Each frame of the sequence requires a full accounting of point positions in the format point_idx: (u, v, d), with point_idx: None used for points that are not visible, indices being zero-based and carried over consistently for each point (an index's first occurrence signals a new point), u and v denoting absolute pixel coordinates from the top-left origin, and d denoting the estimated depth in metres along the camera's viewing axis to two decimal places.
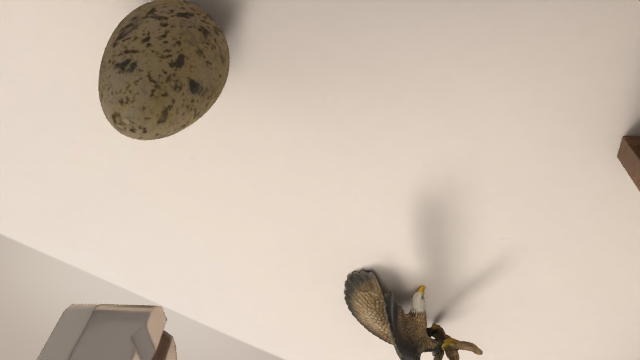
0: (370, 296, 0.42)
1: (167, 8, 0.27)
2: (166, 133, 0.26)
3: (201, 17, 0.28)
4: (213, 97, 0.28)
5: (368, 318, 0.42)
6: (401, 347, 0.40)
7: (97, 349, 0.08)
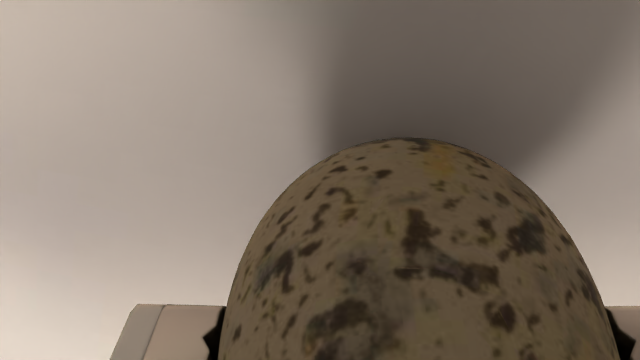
0: None
1: (466, 215, 0.07)
2: None
3: (552, 222, 0.08)
4: None
5: None
6: None
7: (170, 350, 0.08)
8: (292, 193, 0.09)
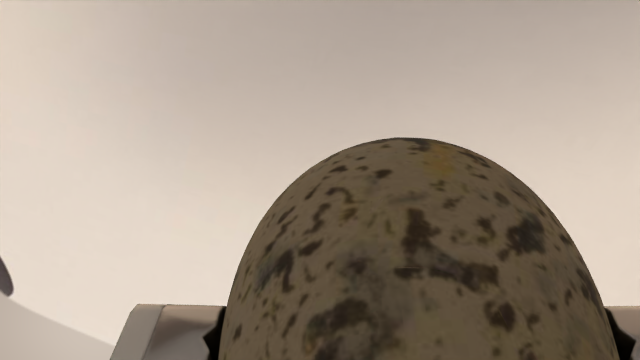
0: None
1: (466, 215, 0.07)
2: None
3: (552, 222, 0.08)
4: None
5: None
6: None
7: (170, 350, 0.08)
8: (292, 193, 0.09)
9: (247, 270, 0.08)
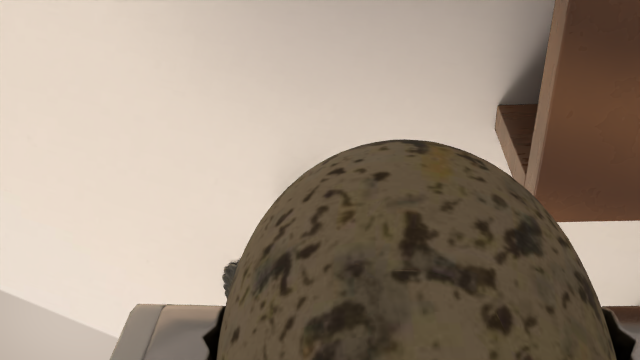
0: None
1: (463, 217, 0.07)
2: None
3: (550, 224, 0.08)
4: None
5: None
6: None
7: (170, 350, 0.08)
8: (290, 195, 0.09)
9: (245, 272, 0.08)
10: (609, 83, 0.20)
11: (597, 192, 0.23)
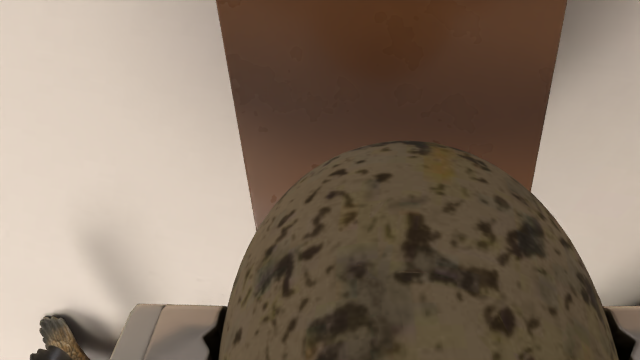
0: (61, 346, 0.35)
1: (466, 219, 0.07)
2: None
3: (552, 226, 0.08)
4: None
5: None
6: None
7: (170, 350, 0.08)
8: (292, 196, 0.09)
9: (247, 273, 0.08)
10: (306, 167, 0.18)
11: None
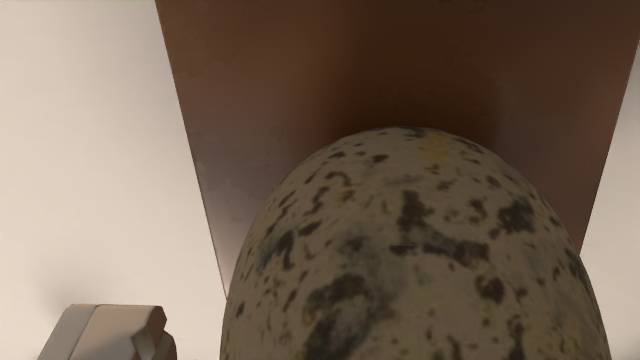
0: None
1: (460, 196, 0.07)
2: None
3: (542, 205, 0.08)
4: None
5: None
6: None
7: (97, 349, 0.08)
8: (293, 178, 0.09)
9: (249, 251, 0.08)
10: None
11: None
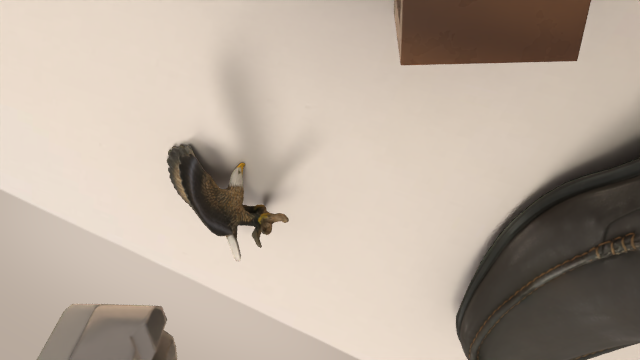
0: None
1: None
2: None
3: None
4: None
5: None
6: (209, 214, 0.41)
7: (97, 349, 0.08)
8: None
9: None
10: None
11: (452, 35, 0.28)
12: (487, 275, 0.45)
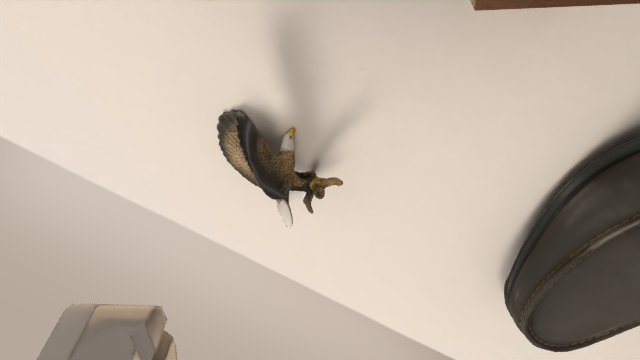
0: None
1: None
2: None
3: None
4: None
5: (237, 158, 0.43)
6: (263, 177, 0.41)
7: (97, 349, 0.08)
8: None
9: None
10: None
11: None
12: (538, 240, 0.45)
